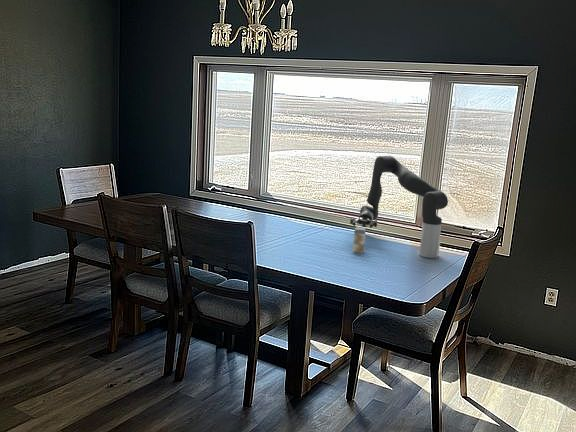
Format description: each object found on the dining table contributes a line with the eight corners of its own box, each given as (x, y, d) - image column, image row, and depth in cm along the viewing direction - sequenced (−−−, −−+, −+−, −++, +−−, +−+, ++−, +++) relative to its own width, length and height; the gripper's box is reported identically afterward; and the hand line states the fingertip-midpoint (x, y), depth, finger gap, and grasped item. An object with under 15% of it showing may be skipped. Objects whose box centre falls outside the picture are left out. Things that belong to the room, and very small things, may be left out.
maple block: (363, 250, 303) (365, 228, 300) (362, 253, 298) (364, 230, 295) (354, 249, 304) (356, 227, 301) (353, 252, 299) (354, 229, 297)
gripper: (353, 210, 325) (349, 216, 310) (379, 213, 322) (376, 219, 307) (352, 223, 327) (348, 230, 312) (378, 226, 324) (375, 233, 309)
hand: (362, 225), depth 309 cm, fingers open, 8 cm apart
